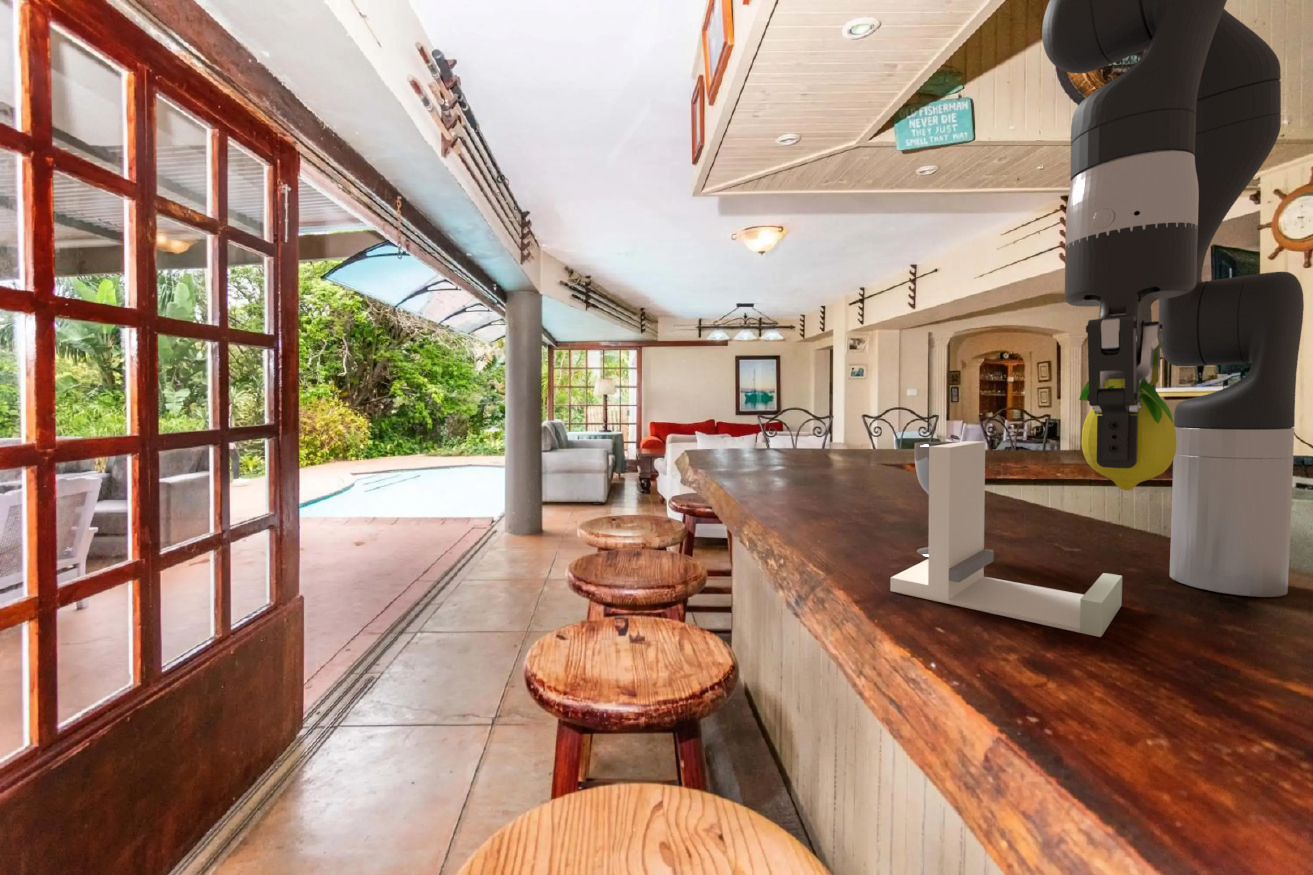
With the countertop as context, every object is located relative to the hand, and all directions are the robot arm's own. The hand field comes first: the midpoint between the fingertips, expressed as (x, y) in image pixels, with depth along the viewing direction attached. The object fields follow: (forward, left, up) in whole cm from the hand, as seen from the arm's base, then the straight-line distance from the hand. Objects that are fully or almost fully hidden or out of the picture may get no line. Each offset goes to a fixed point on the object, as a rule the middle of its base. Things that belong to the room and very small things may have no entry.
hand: (1123, 462), depth 43 cm
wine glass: (-27, -22, -16) cm, 38 cm away
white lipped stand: (-12, -11, -16) cm, 23 cm away
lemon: (0, 0, -2) cm, 2 cm away
